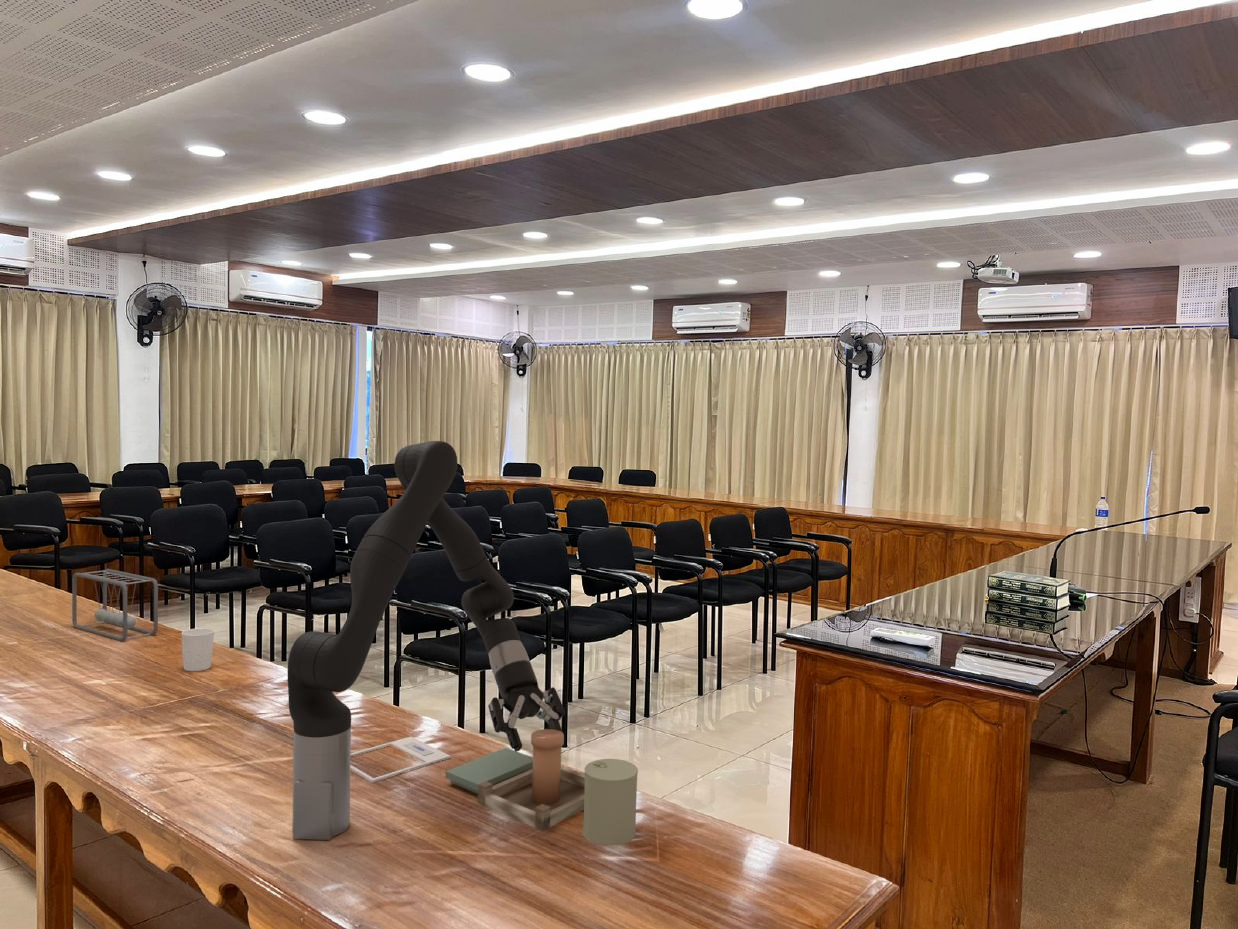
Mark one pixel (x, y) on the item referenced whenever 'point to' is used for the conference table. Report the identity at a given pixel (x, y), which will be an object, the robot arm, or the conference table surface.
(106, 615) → the newton's cradle
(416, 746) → the photo frame
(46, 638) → the conference table surface
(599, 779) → the can
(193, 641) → the white cup
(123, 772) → the conference table surface
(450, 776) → the green stand
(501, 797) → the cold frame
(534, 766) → the brown capped bottle
